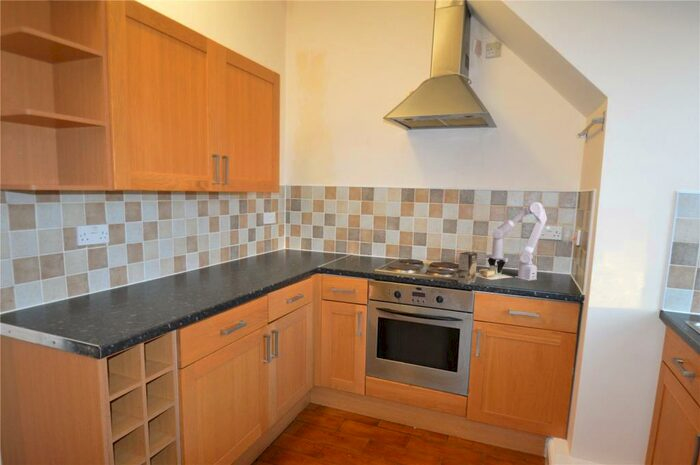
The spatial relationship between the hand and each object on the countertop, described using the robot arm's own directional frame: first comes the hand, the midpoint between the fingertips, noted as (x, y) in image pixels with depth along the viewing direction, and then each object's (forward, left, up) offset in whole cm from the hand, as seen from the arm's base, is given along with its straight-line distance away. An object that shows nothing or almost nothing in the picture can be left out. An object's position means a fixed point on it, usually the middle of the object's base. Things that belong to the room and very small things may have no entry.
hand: (495, 271), depth 242 cm
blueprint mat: (-2, +6, -2) cm, 6 cm away
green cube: (0, 0, -1) cm, 1 cm away
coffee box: (-8, +32, -2) cm, 33 cm away
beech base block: (-3, +11, -1) cm, 11 cm away
